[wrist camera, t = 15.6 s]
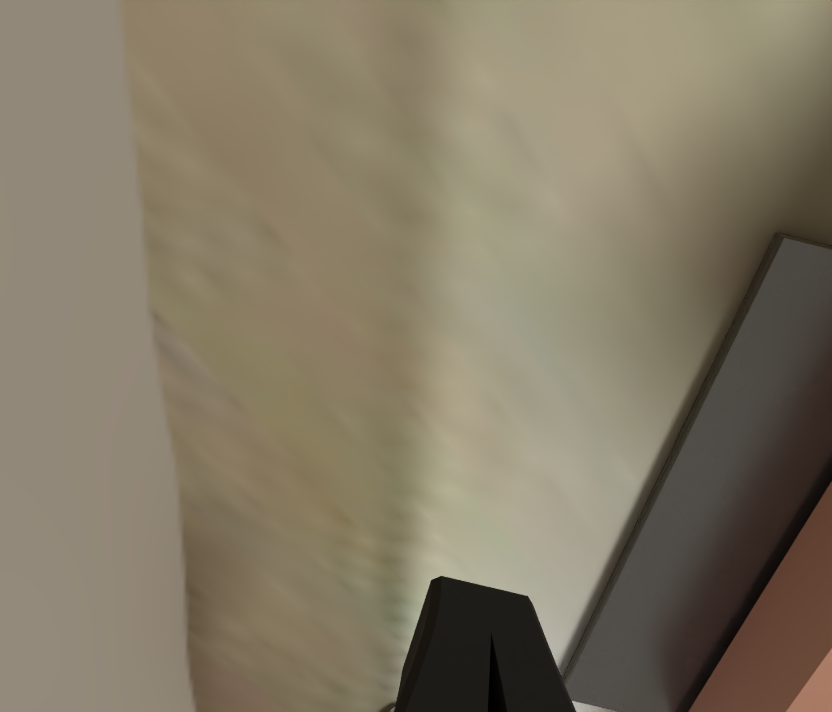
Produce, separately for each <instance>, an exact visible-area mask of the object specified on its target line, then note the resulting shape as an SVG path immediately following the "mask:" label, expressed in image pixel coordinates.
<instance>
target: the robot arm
mask: <svg viewBox="0 0 832 712" xmlns="http://www.w3.org/2000/svg"><path fill="white" fill-rule="evenodd" d="M390 712H576V710H575V708H574V705H573V703H572V701H571V699H570V696H569V694H568V692H567V689H566V687H565V684H564V682H563V680H562V677H561V675H560V672H559V670H558V668H557V665H556V663H555V660H554V658H553V655H552V653H551V650H550V648H549V645H548V643H547V640H546V638H545V635H544V633H543V630H542V627H541V625H540V622H539V620H538V617H537V614H536V612H535V609H534V606H533V604H532V602H531V601H530V599H529V597H528V596H525V595H521V594H516V593H512V592H508V591H504V590H499V589H495V588H491V587H486V586H482V585H478V584H474V583H469V582H465V581H461V580H457V579H452V578H448V577H444V576H440V577H438V578H435V579H433V580H431V583H430V586H429V589H428V592H427V595H426V598H425V601H424V604H423V608H422V611H421V614H420V617H419V620H418V623H417V626H416V629H415V632H414V635H413V639H412V642H411V645H410V648H409V651H408V654H407V657H406V660H405V663H404V667H403V670H402V676H401V682H400V687H399V692H398V697H397V701H396V705H395V707H393V708H392V709H391V710H390Z"/></svg>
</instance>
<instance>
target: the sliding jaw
mask: <svg viewBox="0 0 832 712" xmlns="http://www.w3.org/2000/svg"><path fill="white" fill-rule="evenodd" d="M688 712H832V482H831V483H830V485H829V486H828V488H827V490H826V491H825V493H824V494H823V496H822V498H821V499H820V501H819V502H818V504H817V506H816V507H815V509H814V510H813V512H812V514H811V515H810V517H809V519H808V520H807V522H806V523H805V525H804V527H803V528H802V530H801V531H800V533H799V535H798V536H797V538H796V539H795V541H794V543H793V544H792V546H791V547H790V549H789V551H788V552H787V554H786V556H785V557H784V559H783V560H782V562H781V564H780V565H779V567H778V568H777V570H776V572H775V573H774V575H773V576H772V578H771V580H770V581H769V583H768V584H767V586H766V588H765V589H764V591H763V592H762V594H761V596H760V597H759V599H758V601H757V602H756V604H755V605H754V607H753V609H752V610H751V612H750V613H749V615H748V617H747V618H746V620H745V621H744V623H743V625H742V626H741V628H740V629H739V631H738V633H737V634H736V636H735V638H734V639H733V641H732V642H731V644H730V646H729V647H728V649H727V650H726V652H725V654H724V655H723V657H722V658H721V660H720V662H719V663H718V665H717V666H716V668H715V670H714V671H713V673H712V675H711V676H710V678H709V679H708V681H707V683H706V684H705V686H704V687H703V689H702V691H701V692H700V694H699V695H698V697H697V699H696V700H695V702H694V703H693V705H692V707H691V708H690V710H689V711H688Z"/></svg>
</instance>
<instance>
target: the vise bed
mask: <svg viewBox="0 0 832 712" xmlns="http://www.w3.org/2000/svg"><path fill="white" fill-rule="evenodd" d="M831 482H832V246H830V245H826V244H822V243H818V242H814V241H810V240H806V239H802V238H798V237H794V236H790V235H786V234H782V233H778V232H776V234H775V236H774V238H773V240H772V242H771V244H770V247H769V249H768V251H767V253H766V255H765V257H764V259H763V261H762V263H761V265H760V267H759V269H758V272H757V274H756V276H755V278H754V280H753V282H752V284H751V286H750V288H749V290H748V292H747V294H746V297H745V299H744V301H743V303H742V305H741V307H740V309H739V311H738V313H737V315H736V317H735V319H734V322H733V324H732V326H731V328H730V330H729V332H728V334H727V336H726V338H725V340H724V342H723V344H722V347H721V349H720V351H719V353H718V355H717V357H716V359H715V361H714V363H713V365H712V367H711V370H710V372H709V374H708V376H707V378H706V380H705V382H704V384H703V386H702V388H701V390H700V392H699V395H698V397H697V399H696V401H695V403H694V405H693V407H692V409H691V411H690V413H689V415H688V417H687V420H686V422H685V424H684V426H683V428H682V430H681V432H680V434H679V436H678V438H677V440H676V442H675V445H674V447H673V449H672V451H671V453H670V455H669V457H668V459H667V461H666V463H665V465H664V467H663V470H662V472H661V474H660V476H659V478H658V480H657V482H656V484H655V486H654V488H653V490H652V493H651V495H650V497H649V499H648V501H647V503H646V505H645V507H644V509H643V511H642V513H641V515H640V518H639V520H638V522H637V524H636V526H635V528H634V530H633V532H632V534H631V536H630V538H629V540H628V543H627V545H626V547H625V549H624V551H623V553H622V555H621V557H620V559H619V561H618V563H617V565H616V568H615V570H614V572H613V574H612V576H611V578H610V580H609V582H608V584H607V586H606V588H605V590H604V593H603V595H602V597H601V599H600V601H599V603H598V605H597V607H596V609H595V611H594V613H593V615H592V618H591V620H590V622H589V624H588V626H587V628H586V630H585V632H584V634H583V636H582V638H581V641H580V643H579V645H578V647H577V649H576V651H575V653H574V655H573V657H572V659H571V661H570V663H569V666H568V668H567V670H566V672H565V674H564V676H563V678H562V680H563V682H564V684H565V687H566V689H567V692H568V694H569V696H570V699H571V700H572V701H576V702H580V703H585V704H589V705H593V706H598V707H602V708H606V709H611V710H615V711H619V712H688V711H689V710H690V708H691V707H692V705H693V703H694V702H695V700H696V699H697V697H698V695H699V694H700V692H701V691H702V689H703V687H704V686H705V684H706V683H707V681H708V679H709V678H710V676H711V675H712V673H713V671H714V670H715V668H716V666H717V665H718V663H719V662H720V660H721V658H722V657H723V655H724V654H725V652H726V650H727V649H728V647H729V646H730V644H731V642H732V641H733V639H734V638H735V636H736V634H737V633H738V631H739V629H740V628H741V626H742V625H743V623H744V621H745V620H746V618H747V617H748V615H749V613H750V612H751V610H752V609H753V607H754V605H755V604H756V602H757V601H758V599H759V597H760V596H761V594H762V592H763V591H764V589H765V588H766V586H767V584H768V583H769V581H770V580H771V578H772V576H773V575H774V573H775V572H776V570H777V568H778V567H779V565H780V564H781V562H782V560H783V559H784V557H785V556H786V554H787V552H788V551H789V549H790V547H791V546H792V544H793V543H794V541H795V539H796V538H797V536H798V535H799V533H800V531H801V530H802V528H803V527H804V525H805V523H806V522H807V520H808V519H809V517H810V515H811V514H812V512H813V510H814V509H815V507H816V506H817V504H818V502H819V501H820V499H821V498H822V496H823V494H824V493H825V491H826V490H827V488H828V486H829V485H830V483H831Z"/></svg>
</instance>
